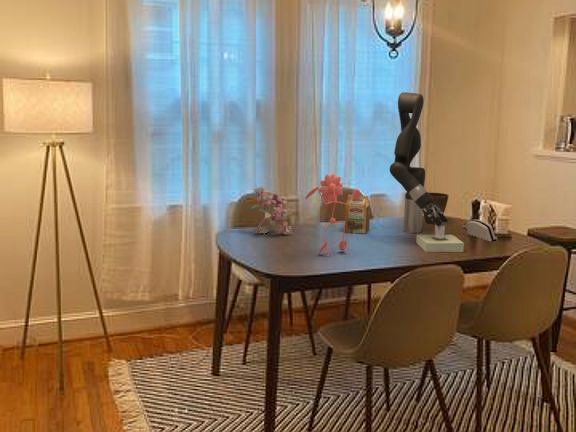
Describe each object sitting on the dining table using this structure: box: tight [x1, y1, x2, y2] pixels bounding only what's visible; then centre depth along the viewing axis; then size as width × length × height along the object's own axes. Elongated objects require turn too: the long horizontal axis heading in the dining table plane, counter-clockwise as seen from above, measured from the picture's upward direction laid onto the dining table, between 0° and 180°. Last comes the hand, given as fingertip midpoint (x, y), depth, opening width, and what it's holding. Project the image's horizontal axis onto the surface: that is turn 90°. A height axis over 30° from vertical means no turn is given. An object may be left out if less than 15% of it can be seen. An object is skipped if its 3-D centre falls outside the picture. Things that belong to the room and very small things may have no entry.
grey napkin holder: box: [466, 219, 498, 242], centre depth 293 cm, size 17×5×10 cm, turn 22°
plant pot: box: [423, 192, 449, 225], centre depth 327 cm, size 15×15×16 cm
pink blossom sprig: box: [304, 173, 362, 257], centre depth 259 cm, size 15×26×35 cm, turn 117°
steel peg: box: [433, 220, 447, 240], centre depth 271 cm, size 5×5×12 cm
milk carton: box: [344, 194, 371, 235], centre depth 302 cm, size 11×11×19 cm
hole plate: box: [416, 234, 465, 253], centre depth 272 cm, size 17×17×4 cm
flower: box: [251, 186, 294, 236], centre depth 294 cm, size 20×22×25 cm
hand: (443, 223), depth 270 cm, fingers open, 8 cm apart
